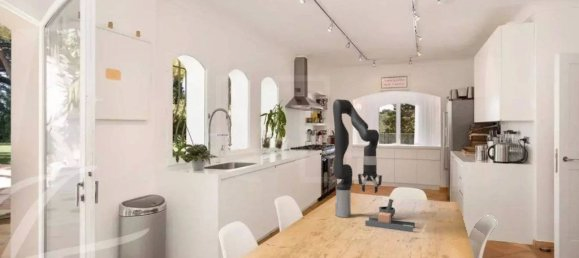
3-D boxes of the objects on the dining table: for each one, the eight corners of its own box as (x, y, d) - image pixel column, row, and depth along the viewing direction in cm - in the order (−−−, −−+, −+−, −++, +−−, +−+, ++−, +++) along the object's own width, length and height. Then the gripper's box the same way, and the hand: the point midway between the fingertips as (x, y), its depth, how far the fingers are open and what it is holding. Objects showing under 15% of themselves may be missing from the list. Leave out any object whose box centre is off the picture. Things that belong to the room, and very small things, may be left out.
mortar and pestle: (389, 222, 208) (389, 202, 208) (376, 219, 215) (376, 200, 214) (398, 218, 216) (399, 199, 215) (385, 215, 222) (385, 197, 222)
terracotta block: (378, 226, 196) (378, 214, 196) (380, 223, 201) (380, 212, 201) (388, 228, 193) (388, 215, 193) (390, 225, 199) (390, 213, 199)
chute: (365, 227, 198) (365, 220, 198) (369, 223, 206) (369, 216, 206) (412, 233, 186) (412, 226, 186) (414, 229, 194) (415, 222, 194)
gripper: (356, 163, 201) (356, 192, 201) (381, 165, 194) (381, 194, 194) (359, 162, 207) (359, 190, 208) (383, 163, 201) (383, 192, 201)
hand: (369, 192), depth 201 cm, fingers open, 6 cm apart
